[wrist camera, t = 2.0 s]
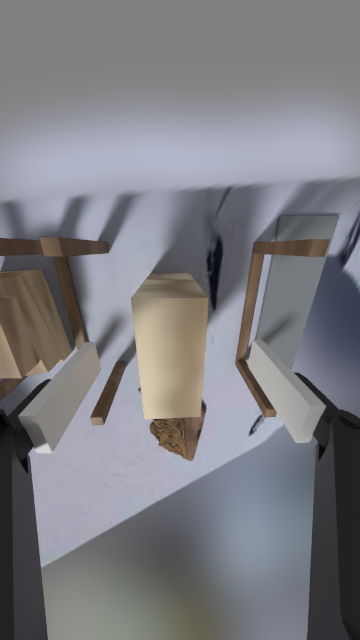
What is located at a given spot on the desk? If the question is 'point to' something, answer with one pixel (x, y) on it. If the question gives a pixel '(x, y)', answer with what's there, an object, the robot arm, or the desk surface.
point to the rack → (73, 247)
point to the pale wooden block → (170, 344)
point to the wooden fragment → (178, 434)
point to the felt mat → (292, 285)
